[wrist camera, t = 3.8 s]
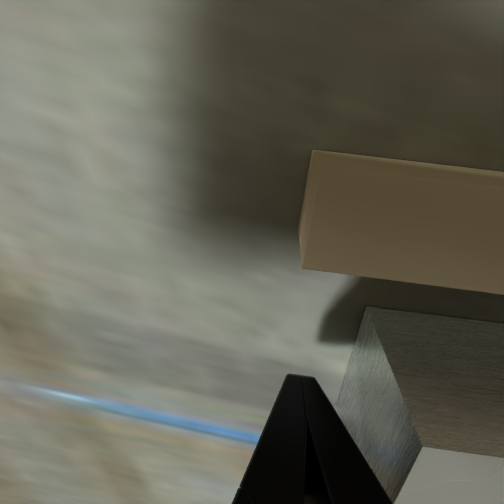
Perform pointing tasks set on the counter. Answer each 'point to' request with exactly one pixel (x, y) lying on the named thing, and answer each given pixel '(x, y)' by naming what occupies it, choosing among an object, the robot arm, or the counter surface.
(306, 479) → the robot arm
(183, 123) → the counter surface
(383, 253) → the slot rails
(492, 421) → the block
